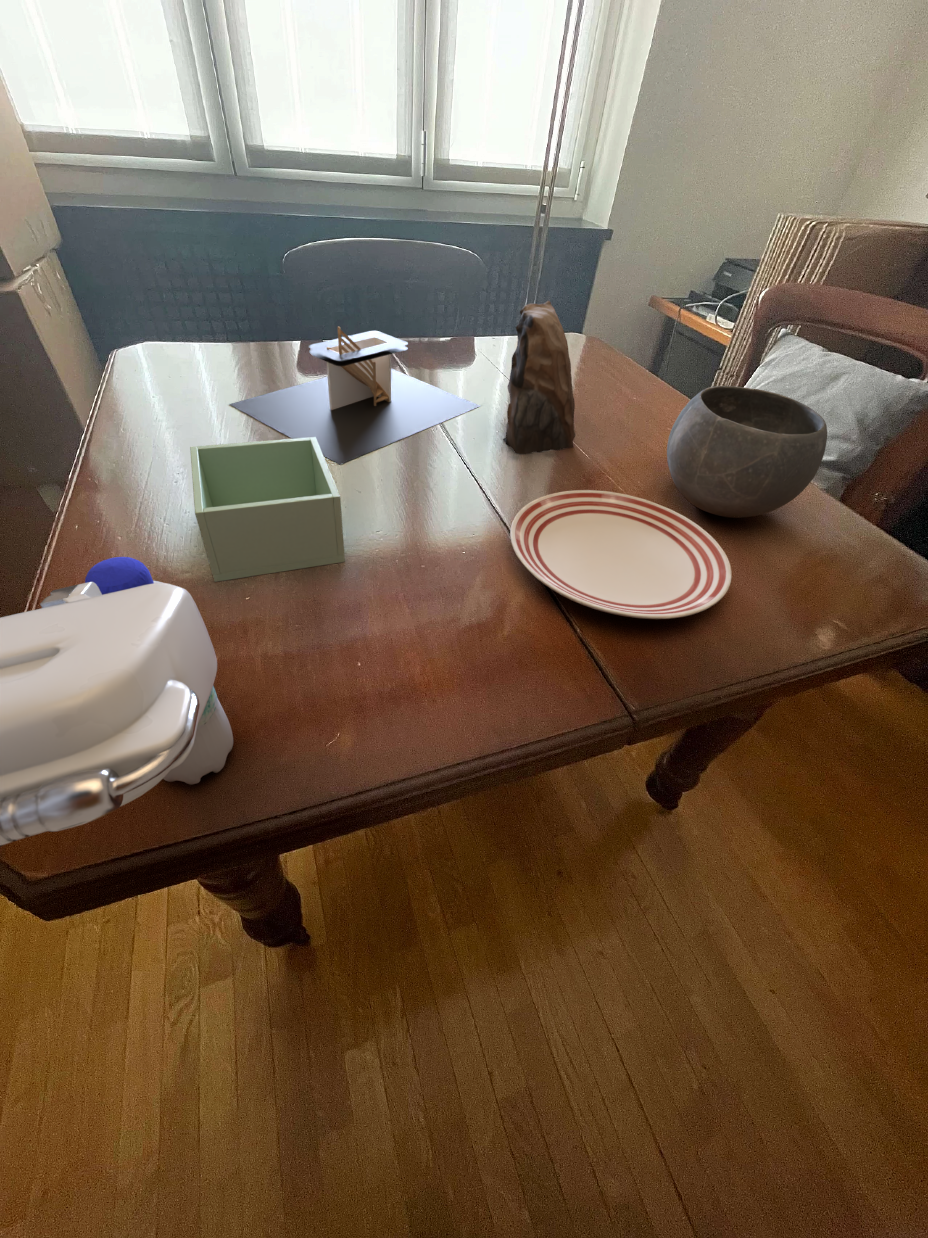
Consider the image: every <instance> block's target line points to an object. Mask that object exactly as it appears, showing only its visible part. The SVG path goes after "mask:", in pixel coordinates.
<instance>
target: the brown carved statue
mask: <svg viewBox="0 0 928 1238" xmlns="http://www.w3.org/2000/svg"><path fill="white" fill-rule="evenodd" d="M519 314H520V319H519V322H518V323H517V325H516V326H515V331H516V335H517V345H516V348H515V350H514V352H513V354H512V356H511V367H510V368H511V369H510V374H509V378H508V379H509V380H508V383H507V391H508V394H509V403H508V404H507V405H508V406H507V411H506V412H507V413H506V414H507V415H506V417H507V418H506V419H507V423H506V425H505V436H504V437H505V438H503V439H502V440H503V442H504V443H505V445H506V446H508V447H509V448H510V449H511V450H512V451H513V452H514V454H517V455H530V454H533V453H543V452H549V451H562V450H564V449H571V448H573V447H574V440H575V437H576V431H575V409H576V405H575V404H576V403H575V397H574V390H573V381H572V379H573V377H572V364H571V358H570V352H569V345H568V339H567V336H566V334H565V331H564V328H563V325H562V323H561V322H560V321H561V320H560V318H559V316H558V314H557V312H556V309H555V307H554V306H553V305H552V301H550V300H547V301H545V302H544V303H532V302H531V303H527V304H525V305H524V306H523V307H522V308H521V310H519Z"/></svg>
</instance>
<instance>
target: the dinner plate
mask: <svg viewBox="0 0 928 1238" xmlns="http://www.w3.org/2000/svg"><path fill="white" fill-rule="evenodd" d="M509 536H510V537H509V538H510V542H511V546H512V549H513V551H514V553H515V555H516V557H517V558H518V560H519V561H520V562H521V564H522V565H523V566H524V568H526V570H527V571H528V572H529V573H530V574H531V575H532V576H533V577H534V578H536V579H537V580H538V581H539V582H540V583H542V584H543V585H544V586H546V587H547V588H549V589H550V590H552V591H554V592H555V593H557V594H558V595H560V596H562V597H564V598H565V599H568V600H570V601H573V602H574V603H577V604H579V605H582V606H585V607H588V608H590V609H592V610H593V609H594V610H596V611H598V612H599V611H600V612H603V613H607V614H611V615H616V616H621V617H627V618H632V619H633V618H635V619H643V620H669V619H677V618H684V617H689V616H693V615H695V614H698V613H702V612H704V611H706V610H707V609H710V608H711V607H712V606H715V605H716V604H717V603H719V601H721V600H722V599H723V597H724V596H725V595H726V594H727V592H728V590H729V588H730V586H731V582H732V567H731V563H730V560H729V558H728V556H727V554H726V552H725V550H723V548H722V546H720V544H719V543H718V541H716V539H715V538H714V537H713V536H712V535H711V534H710V533H708V532H707V530H705V529H703V527H701V526H700V525H698V524H697V523H696V522H694V521H693V520H691V519H689V518H688V517H686V516H685V515H683V514H681V513H679V512H677V511H675V510H673V509H671V508H668V507H666V506H664V505H661V504H658V503H656V502H653V501H651V500H648V499H644V498H641V497H637V496H634V495H630V494H626V493H621V492H614V491H606V490H594V489H593V490H592V489H578V490H577V489H575V490H566V491H560V492H553V493H550V494H547V495H544V496H543V495H542V496H541V497H538V498H536V499H534V500H532V501H530V502H528V503H527V504H526V505H524V506H523V507H522V508H520V510H519V511H518V512H517V513H516V515H514V517H513V520H512V522H511V525H510V531H509Z"/></svg>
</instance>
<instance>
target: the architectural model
mask: <svg viewBox="0 0 928 1238" xmlns="http://www.w3.org/2000/svg"><path fill="white" fill-rule="evenodd" d="M407 345H409V342H408V341H405V340H403V339H400V338H397V337H394V336H392V335H389V334H387V333H385V332H381V331H380V330H379V331H378V330H368V331H364V332H359V333H356V334H351V335H347V334H346V333H345V332H344V331H343V330H342V329H341V327H340V326H337V338H333V339H329V340H325V341H321V342H316V343H312V344H310V345H308V348H310V350H309V353H310V354H311V355H312V356H313V357H315V358H317V359H319V360H322V361H324V362H325V363H326V373H327V376H324V377H320V378H317V379H314V380H310V381H306V382H303V383H299V384H296V385H292V386H289V387H285V388H281V389H277V390H275V391H270V392H267V393H264V394H259V395H257V396H253V397H249V398H246V399H242V400H238V401H235V402H232V403H229V405H230V406H232V407H233V408H235V409H237V410H239V411H241V412H243V413H245V414H247V415H248V416H250V417H252V418H254V419H256V420H258V421H259V422H260V423H263V424H264V425H267V426H268V427H270V428H272V429H274V430H276V431H277V432H279V433H281V434H283V435H285V436H287V437H288V438H289V439H295V438H307V437H309V438H310V437H316V439H317V442H318V444H319V446H320V449H321V451H322V454H323V456H324V458H327V459H329V460H330V461H332V462H334V463H335V464H337V465H342V464H345V463H347V462H349V461H352V460H354V459H357V458H359V457H362V456H364V455H366V454H368V453H372V452H373V451H376V450H378V449H380V448H383V447H386V446H388V445H391V444H393V443H395V442H398V441H400V440H402V439H405V438H408V437H410V436H412V435H415V434H417V433H419V432H421V431H424V430H426V429H429V428H431V427H433V426H436V425H440V424H441V423H444V422H446V421H448V420H450V419H454V418H455V417H456V418H457V417H458V416H460V415H463V414H465V413H468V412H470V411H472V410H475V409H478V408H479V407H481V405H480V404H478V403H476V402H473V401H471V400H468V399H466V398H464V397H461V396H459V395H456V394H455V393H451V392H450V391H446V390H444V389H442V388H440V387H437V386H434V385H432V384H429V383H427V382H425V381H423V380H421V379H419V378H415V377H413V376H410V375H409V374H406V373H403V372H401V371H399V370H396V369H394V368H392V354H396V353H399V352H403V351H407V350H409V347H407Z"/></svg>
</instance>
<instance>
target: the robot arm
mask: <svg viewBox="0 0 928 1238" xmlns="http://www.w3.org/2000/svg"><path fill="white" fill-rule="evenodd" d="M39 605H40V607H41V608H37V609H33V610H27V611H22V612H20V613H14V614H11V615H5V616H2V617H0V848H2V847H3V846H7V845H9V844H12V843H14V842H16V841H20V840H23V839H26V838H30V837H33V836H36V835H39V834H42V833H46V832H50V833H55V832H56V833H57V832H61V831H66V830H70V829H74V828H77V827H81V826H84V825H87V824H90V823H92V822H94V821H97V820H99V819H101V818H104V817H106V816H108V815H109V814H111V813H113V812H115V811H117V810H118V809H119V808H120V807H123V806H125V805H127V804H129V803H131V802H133V801H134V800H136V799H138V798H140V797H142V796H143V795H144V794H146V793H147V792H149V791H150V790H151V789H153V788H154V787H155V786H157V785H158V784H159V783H160V782H161V781H162V780H164V779H163V778H164V777H165V776H166V775H167V774H168V773H169V771H170V770H171V769H174V768H175V767H177V766H179V765H180V764H181V763H183V761H184V760H185V759H186V758H187V756H188V755H189V753H190V752H191V749H192V747H193V745H194V740H195V735H196V730H197V725H198V723H199V720H200V718H201V716H202V714H203V711H204V709H205V706H206V704H207V701H208V699H209V696H210V693H211V690H212V687H213V686H214V684H215V679H216V678H217V672H218V658H217V655H216V652H215V651H216V650H215V647H214V645H213V642H212V640H211V637H210V634H209V631H208V629H207V627H206V624H205V622H204V619H203V617H202V615H201V612H200V610H199V608H198V606H197V603H196V602H195V600H194V598H193V596H192V594H191V593H190V592H189V591H188V590H187V589H185V588H184V587H181V586H178V585H175V584H172V583H166V582H163V583H153V584H147V585H143V586H139V587H135V588H130V589H126V590H122V591H117V592H113V593H108V594H104V595H102V594H101V592H100V590H99V588H98V586H97V585H96V584H95V583H94V582H88V583H85V582H83V583H79V584H78V583H77V584H74V585H70V586H65V587H62V588H57V589H53V590H52V591H50V592H49V595H48V596H46V597H44V599H43V600H42V601H41V602H40V603H39Z"/></svg>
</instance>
